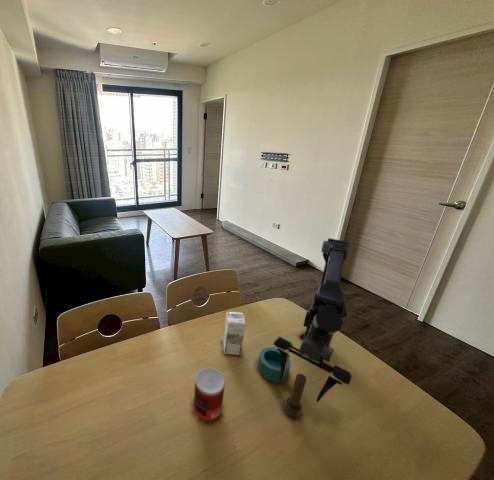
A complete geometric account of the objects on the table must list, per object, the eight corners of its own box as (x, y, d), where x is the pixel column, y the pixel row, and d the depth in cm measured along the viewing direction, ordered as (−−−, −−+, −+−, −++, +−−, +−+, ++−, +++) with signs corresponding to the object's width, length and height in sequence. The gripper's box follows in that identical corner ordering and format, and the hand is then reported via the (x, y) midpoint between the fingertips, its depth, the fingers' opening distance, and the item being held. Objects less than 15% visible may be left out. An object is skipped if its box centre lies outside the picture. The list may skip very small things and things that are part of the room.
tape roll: (270, 354, 88) (273, 343, 86) (293, 374, 80) (296, 363, 78) (251, 365, 83) (253, 353, 82) (273, 387, 76) (276, 375, 74)
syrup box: (238, 343, 92) (243, 311, 87) (240, 356, 87) (245, 323, 81) (222, 342, 93) (226, 310, 87) (224, 355, 87) (228, 321, 82)
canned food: (223, 399, 72) (226, 371, 68) (218, 427, 65) (222, 398, 61) (197, 391, 75) (199, 363, 70) (190, 417, 68) (191, 388, 63)
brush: (290, 401, 72) (299, 368, 67) (302, 414, 69) (313, 380, 64) (280, 408, 70) (289, 374, 65) (293, 421, 67) (303, 387, 62)
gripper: (281, 313, 70) (258, 366, 66) (362, 349, 58) (338, 416, 55) (287, 322, 78) (266, 370, 75) (358, 355, 67) (338, 413, 63)
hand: (298, 389), depth 67 cm, fingers open, 9 cm apart
